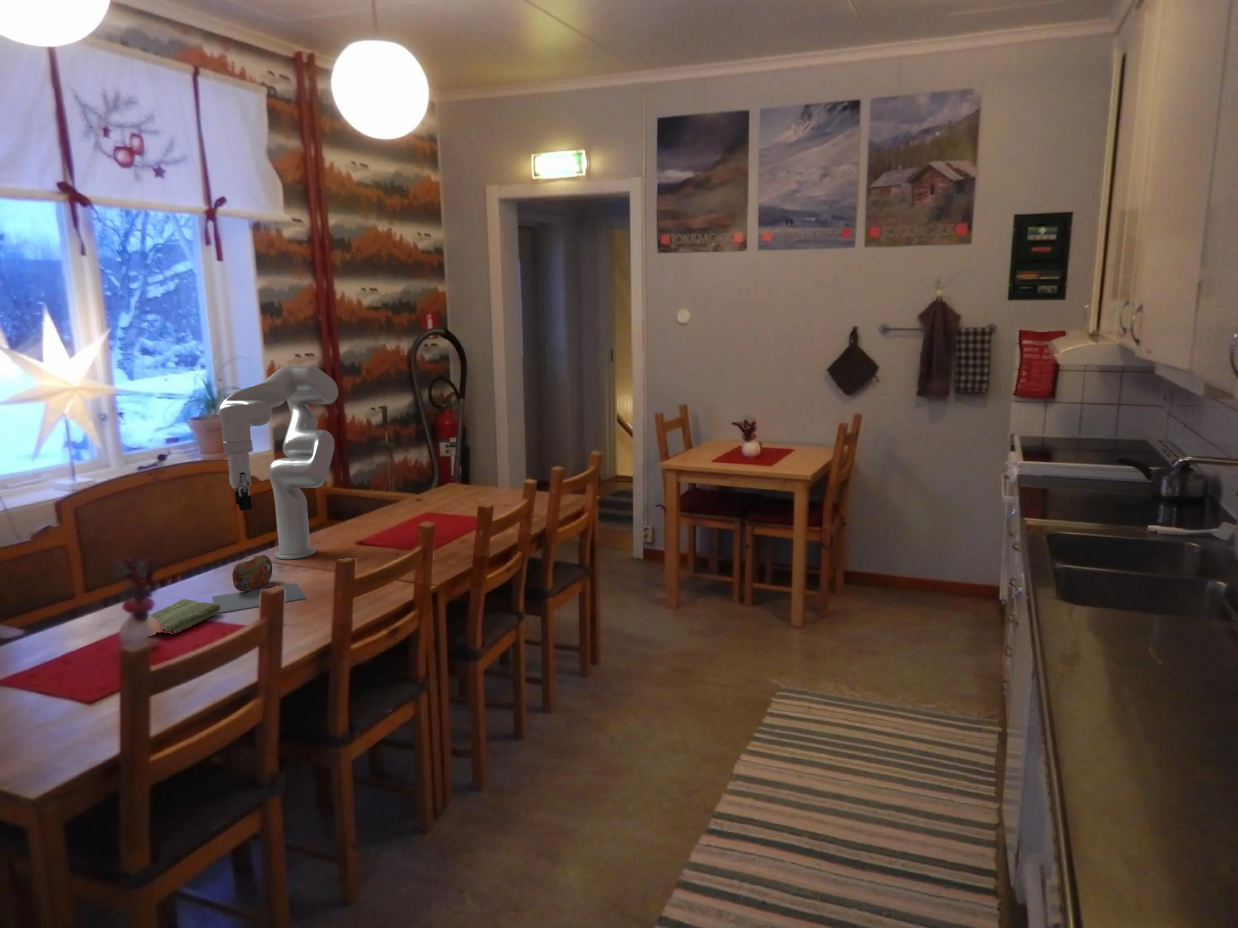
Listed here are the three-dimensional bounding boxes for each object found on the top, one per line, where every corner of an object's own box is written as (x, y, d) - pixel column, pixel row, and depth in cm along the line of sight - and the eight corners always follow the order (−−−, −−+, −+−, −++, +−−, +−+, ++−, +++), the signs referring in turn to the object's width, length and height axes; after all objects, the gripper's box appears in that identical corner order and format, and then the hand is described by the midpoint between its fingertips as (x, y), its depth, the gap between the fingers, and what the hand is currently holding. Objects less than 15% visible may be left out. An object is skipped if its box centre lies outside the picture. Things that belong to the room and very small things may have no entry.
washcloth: (129, 632, 208) (127, 620, 207) (185, 607, 224) (184, 596, 224) (170, 638, 204) (169, 625, 203) (225, 612, 220) (224, 600, 220)
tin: (242, 595, 233) (239, 565, 232) (231, 594, 234) (228, 565, 233) (274, 579, 248) (271, 551, 247) (264, 579, 248) (262, 551, 247)
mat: (212, 597, 233) (212, 596, 233) (296, 584, 244) (296, 583, 244) (217, 613, 220) (217, 612, 220) (305, 598, 231) (305, 597, 231)
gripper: (220, 444, 246) (226, 502, 249) (226, 452, 232) (232, 514, 235) (248, 442, 250) (253, 499, 253) (256, 449, 235) (262, 510, 238)
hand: (243, 506), depth 244 cm, fingers open, 8 cm apart
